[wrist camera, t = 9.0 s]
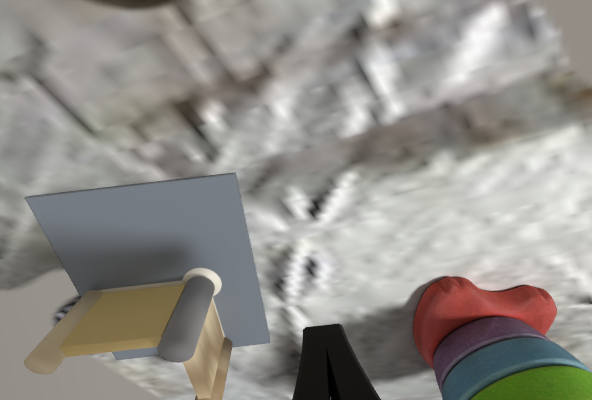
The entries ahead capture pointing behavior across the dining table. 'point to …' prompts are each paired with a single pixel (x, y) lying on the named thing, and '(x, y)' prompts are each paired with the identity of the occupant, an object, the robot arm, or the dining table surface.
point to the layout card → (160, 245)
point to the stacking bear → (495, 344)
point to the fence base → (210, 359)
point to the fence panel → (129, 324)
